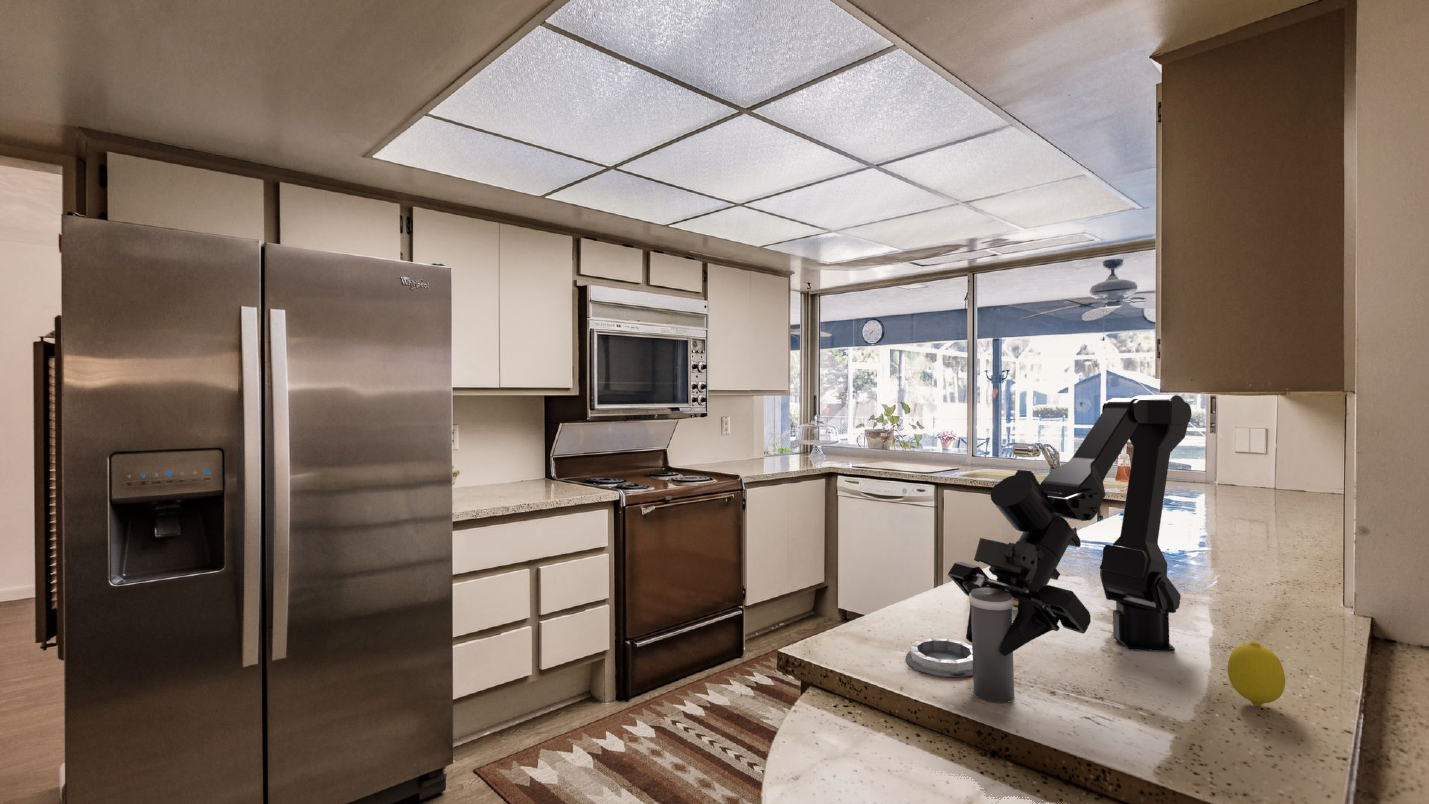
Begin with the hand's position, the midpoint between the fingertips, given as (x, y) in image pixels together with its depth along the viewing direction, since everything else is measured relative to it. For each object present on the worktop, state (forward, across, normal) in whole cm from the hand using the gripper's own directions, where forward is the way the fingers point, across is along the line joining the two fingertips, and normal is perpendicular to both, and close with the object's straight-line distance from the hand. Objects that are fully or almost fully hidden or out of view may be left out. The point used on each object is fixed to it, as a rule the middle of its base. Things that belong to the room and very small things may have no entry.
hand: (984, 647), depth 86 cm
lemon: (-14, +19, +23) cm, 33 cm away
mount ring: (+2, -11, +7) cm, 13 cm away
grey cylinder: (+4, 0, +6) cm, 7 cm away
